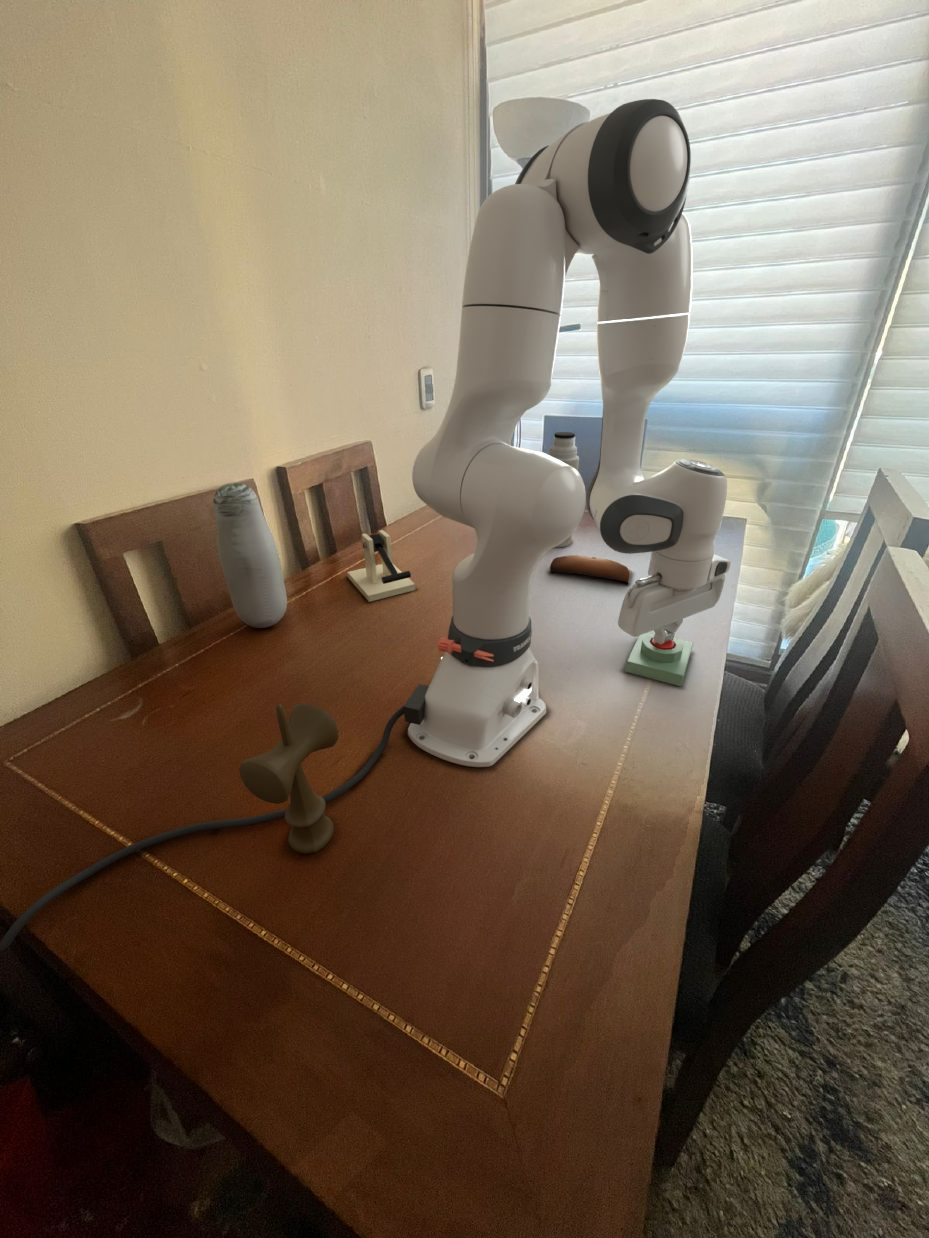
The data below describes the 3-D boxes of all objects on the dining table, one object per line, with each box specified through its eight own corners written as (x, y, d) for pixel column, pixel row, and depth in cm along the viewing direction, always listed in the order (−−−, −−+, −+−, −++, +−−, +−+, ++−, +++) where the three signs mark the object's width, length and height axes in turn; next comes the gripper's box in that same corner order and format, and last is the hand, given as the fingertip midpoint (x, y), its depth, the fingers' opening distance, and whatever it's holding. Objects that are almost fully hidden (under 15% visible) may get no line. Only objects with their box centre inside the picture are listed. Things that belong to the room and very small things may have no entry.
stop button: (670, 658, 86) (672, 649, 85) (648, 653, 88) (650, 644, 87) (673, 648, 89) (675, 639, 88) (652, 642, 91) (654, 634, 90)
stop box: (680, 686, 84) (685, 666, 82) (625, 671, 87) (628, 652, 85) (690, 653, 92) (695, 634, 90) (639, 640, 96) (642, 622, 94)
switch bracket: (415, 589, 115) (412, 540, 109) (369, 602, 110) (362, 550, 104) (391, 567, 125) (387, 521, 120) (348, 577, 121) (341, 530, 115)
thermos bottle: (551, 549, 134) (560, 437, 120) (535, 539, 140) (541, 431, 126) (577, 544, 137) (588, 434, 122) (560, 534, 143) (568, 428, 129)
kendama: (356, 812, 63) (332, 682, 53) (309, 881, 56) (271, 745, 45) (314, 798, 65) (284, 670, 55) (264, 864, 57) (218, 729, 47)
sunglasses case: (632, 569, 121) (634, 551, 116) (627, 593, 118) (629, 577, 113) (557, 558, 127) (555, 541, 122) (550, 582, 124) (548, 565, 119)
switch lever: (410, 580, 109) (411, 572, 107) (383, 586, 107) (384, 578, 105) (386, 540, 116) (387, 531, 114) (361, 545, 113) (361, 537, 111)
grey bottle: (236, 618, 105) (197, 481, 91) (287, 606, 109) (258, 474, 95) (242, 641, 97) (201, 496, 83) (296, 627, 101) (267, 487, 87)
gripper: (646, 591, 74) (632, 669, 81) (738, 560, 83) (718, 633, 90) (615, 574, 79) (604, 649, 86) (704, 547, 87) (688, 617, 94)
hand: (663, 641), depth 88 cm, fingers closed, pressing on stop button
